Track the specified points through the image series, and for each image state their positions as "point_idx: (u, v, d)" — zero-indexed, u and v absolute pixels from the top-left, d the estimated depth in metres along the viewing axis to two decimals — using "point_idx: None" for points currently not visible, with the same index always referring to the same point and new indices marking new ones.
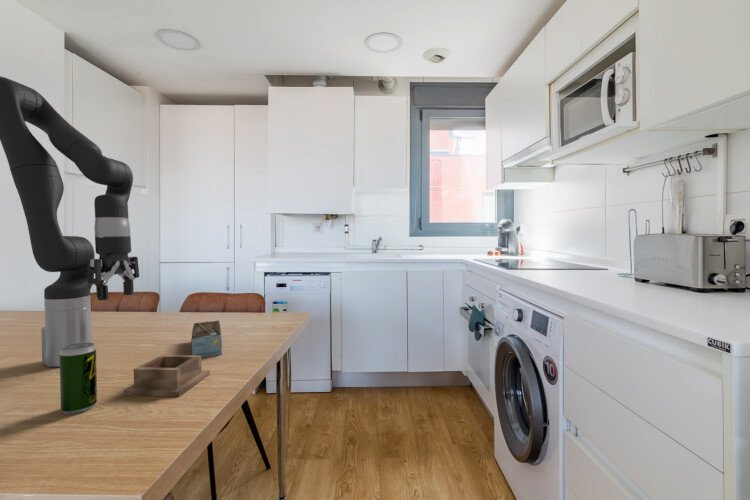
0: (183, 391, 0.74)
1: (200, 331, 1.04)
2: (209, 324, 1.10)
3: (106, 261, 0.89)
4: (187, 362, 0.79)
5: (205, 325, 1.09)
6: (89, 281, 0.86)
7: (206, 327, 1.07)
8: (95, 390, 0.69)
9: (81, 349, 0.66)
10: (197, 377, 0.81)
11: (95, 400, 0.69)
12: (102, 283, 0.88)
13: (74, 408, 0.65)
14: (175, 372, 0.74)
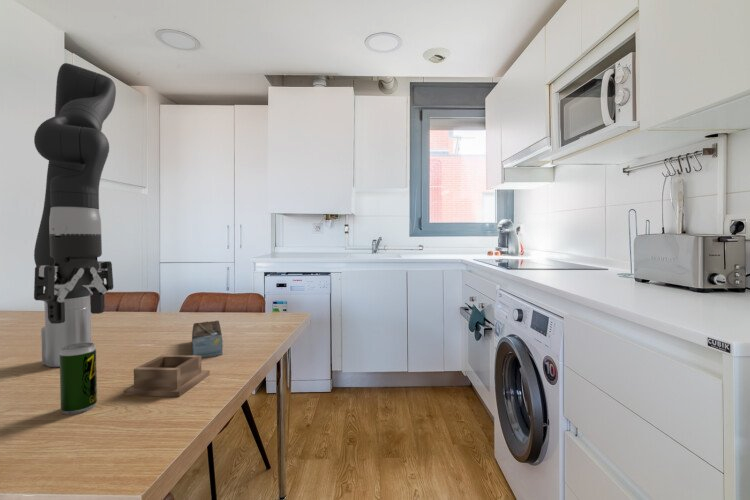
0: (183, 391, 0.74)
1: (200, 331, 1.04)
2: (209, 324, 1.10)
3: (63, 268, 0.64)
4: (187, 362, 0.79)
5: (205, 325, 1.09)
6: (36, 297, 0.60)
7: (206, 327, 1.07)
8: (95, 390, 0.69)
9: (81, 349, 0.66)
10: (197, 377, 0.81)
11: (95, 400, 0.69)
12: (56, 300, 0.62)
13: (74, 408, 0.65)
14: (175, 372, 0.74)
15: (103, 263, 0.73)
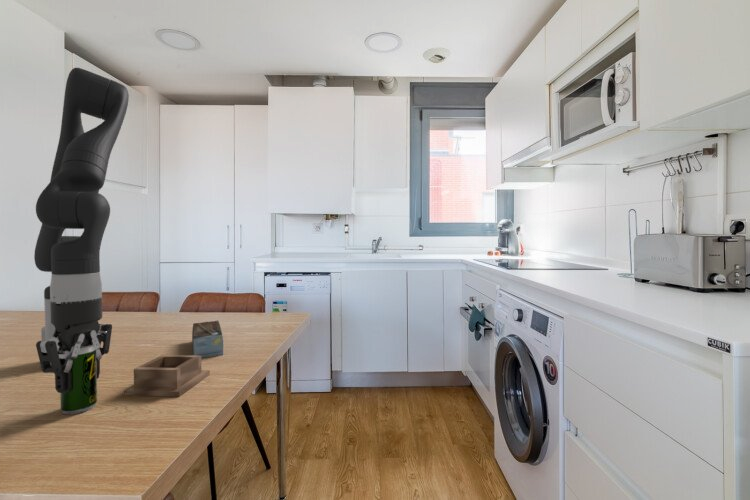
0: (183, 391, 0.74)
1: (201, 331, 1.04)
2: (209, 324, 1.10)
3: (64, 337, 0.64)
4: (187, 362, 0.79)
5: (205, 325, 1.09)
6: (44, 371, 0.62)
7: (206, 327, 1.07)
8: (95, 390, 0.69)
9: (81, 349, 0.66)
10: (197, 377, 0.81)
11: (95, 400, 0.69)
12: (63, 371, 0.64)
13: (74, 408, 0.65)
14: (175, 372, 0.74)
15: (104, 325, 0.73)
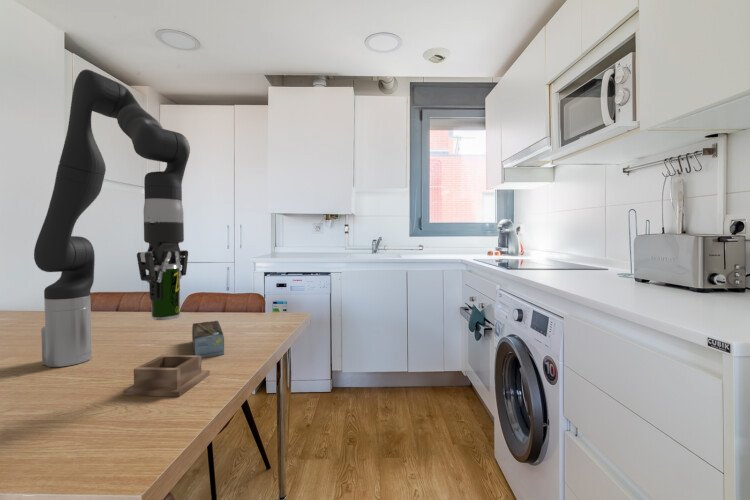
0: (183, 391, 0.74)
1: (201, 331, 1.04)
2: (209, 324, 1.10)
3: (157, 252, 0.74)
4: (187, 362, 0.79)
5: (205, 325, 1.09)
6: (142, 278, 0.72)
7: (206, 327, 1.07)
8: (179, 303, 0.79)
9: (169, 265, 0.77)
10: (197, 377, 0.81)
11: (179, 311, 0.79)
12: (156, 280, 0.74)
13: (164, 315, 0.76)
14: (175, 372, 0.74)
15: (182, 251, 0.84)
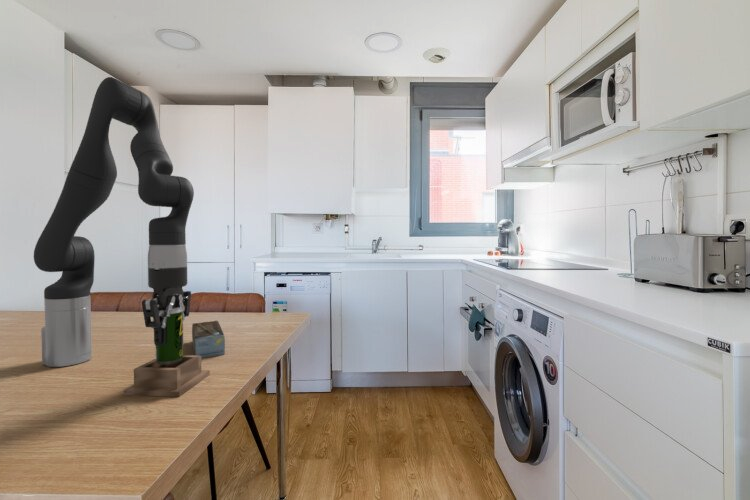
0: (183, 391, 0.74)
1: (201, 331, 1.04)
2: (209, 324, 1.10)
3: (161, 298, 0.75)
4: (187, 362, 0.79)
5: (205, 325, 1.09)
6: (147, 325, 0.73)
7: (207, 327, 1.07)
8: (182, 345, 0.80)
9: (173, 309, 0.78)
10: (197, 377, 0.81)
11: (182, 354, 0.80)
12: (161, 326, 0.75)
13: (168, 359, 0.77)
14: (175, 372, 0.74)
15: (185, 292, 0.84)
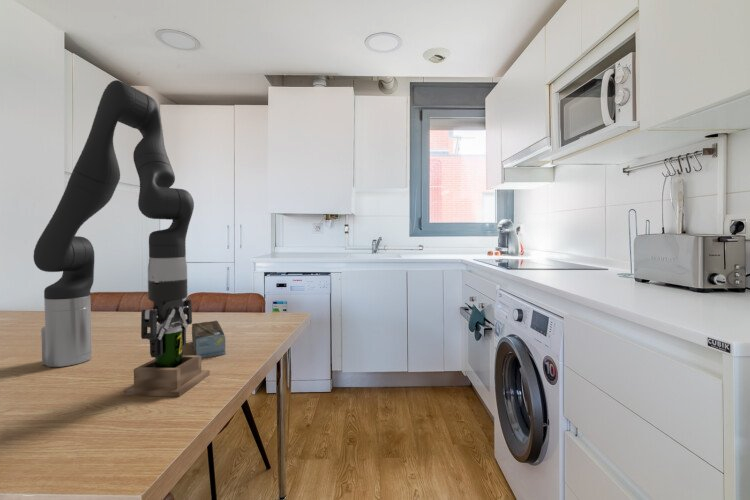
0: (183, 391, 0.74)
1: (202, 331, 1.04)
2: (209, 324, 1.10)
3: (161, 310, 0.75)
4: (187, 362, 0.79)
5: (205, 325, 1.09)
6: (143, 336, 0.72)
7: (207, 327, 1.07)
8: None
9: (173, 328, 0.77)
10: (197, 377, 0.81)
11: None
12: (157, 338, 0.74)
13: None
14: (175, 372, 0.74)
15: (185, 301, 0.84)
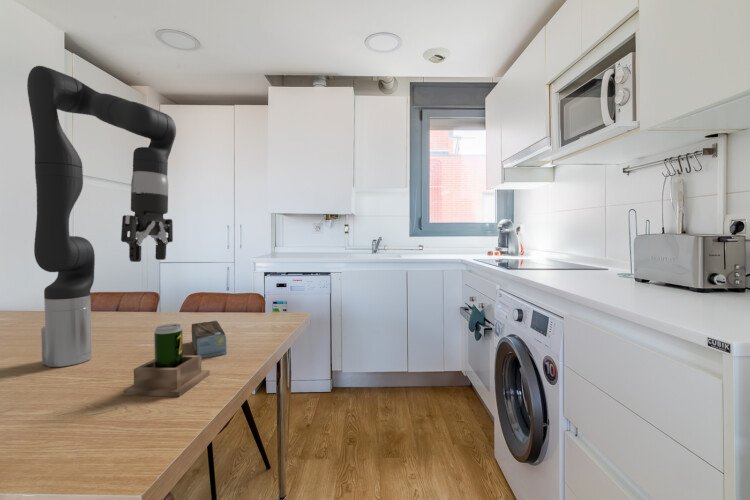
0: (183, 391, 0.74)
1: (202, 331, 1.04)
2: (209, 324, 1.10)
3: (142, 219, 0.81)
4: (187, 362, 0.79)
5: (205, 325, 1.09)
6: (123, 239, 0.78)
7: (207, 327, 1.07)
8: None
9: (173, 328, 0.77)
10: (197, 377, 0.81)
11: None
12: (136, 243, 0.80)
13: None
14: (175, 372, 0.74)
15: (166, 220, 0.91)
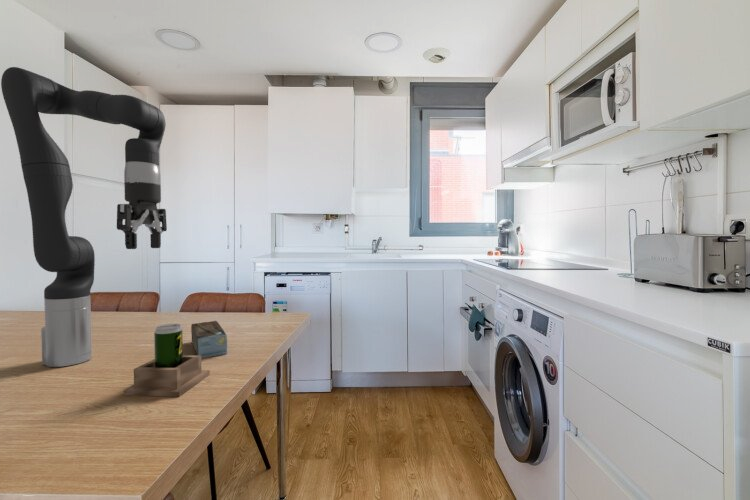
0: (183, 391, 0.74)
1: (202, 331, 1.04)
2: (209, 324, 1.10)
3: (136, 208, 0.84)
4: (187, 362, 0.79)
5: (205, 325, 1.09)
6: (118, 227, 0.81)
7: (207, 327, 1.07)
8: None
9: (173, 328, 0.77)
10: (197, 377, 0.81)
11: None
12: (131, 230, 0.83)
13: None
14: (175, 372, 0.74)
15: (160, 210, 0.93)
